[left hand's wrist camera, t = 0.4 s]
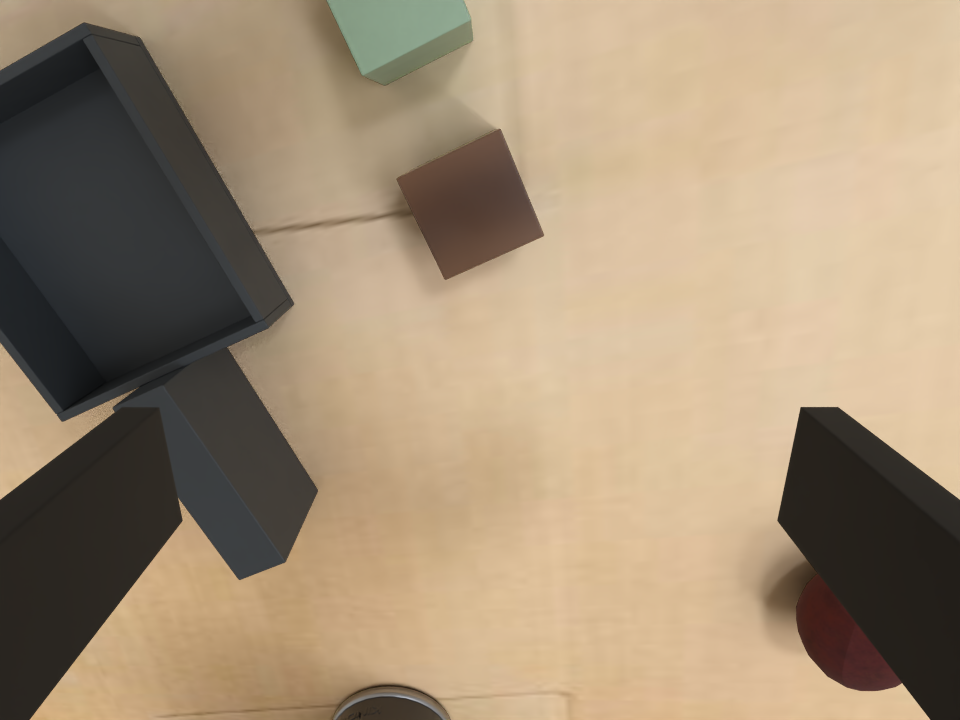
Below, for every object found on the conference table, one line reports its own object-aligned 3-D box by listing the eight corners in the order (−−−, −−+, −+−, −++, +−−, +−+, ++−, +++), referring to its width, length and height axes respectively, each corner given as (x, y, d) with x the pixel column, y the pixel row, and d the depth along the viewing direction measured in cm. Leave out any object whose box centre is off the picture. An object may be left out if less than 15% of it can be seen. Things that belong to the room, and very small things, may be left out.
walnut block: (411, 170, 32) (395, 178, 26) (497, 128, 31) (500, 128, 26) (451, 255, 34) (444, 280, 28) (534, 217, 33) (544, 236, 27)
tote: (-64, 150, 32) (-205, 156, 25) (140, 36, 30) (44, 11, 23) (214, 532, 40) (162, 610, 34) (387, 463, 38) (367, 531, 32)
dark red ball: (772, 631, 43) (824, 721, 36) (782, 541, 40) (840, 622, 34) (877, 624, 43) (949, 714, 36) (894, 533, 40) (975, 613, 33)
